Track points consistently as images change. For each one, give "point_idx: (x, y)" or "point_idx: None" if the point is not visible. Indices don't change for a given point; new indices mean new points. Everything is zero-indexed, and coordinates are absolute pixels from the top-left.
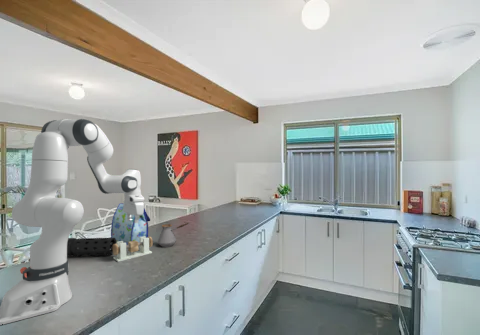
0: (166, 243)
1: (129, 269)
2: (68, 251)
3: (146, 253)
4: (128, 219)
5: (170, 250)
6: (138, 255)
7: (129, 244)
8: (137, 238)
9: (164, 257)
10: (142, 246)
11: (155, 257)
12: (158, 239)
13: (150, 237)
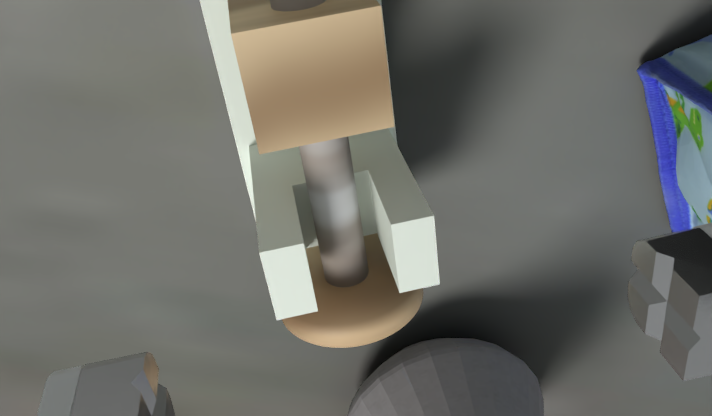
0: (352, 406)
1: None
2: None
3: (243, 168)
4: (672, 259)
5: (231, 385)
6: (218, 70)
7: (312, 8)
8: (707, 183)
9: (18, 302)
10: None
11: (69, 225)
12: (486, 373)
13: (331, 338)
